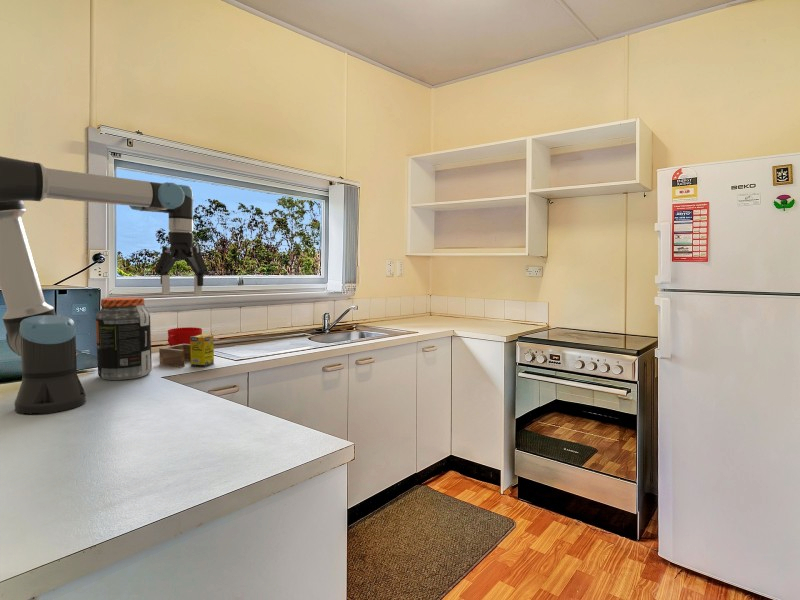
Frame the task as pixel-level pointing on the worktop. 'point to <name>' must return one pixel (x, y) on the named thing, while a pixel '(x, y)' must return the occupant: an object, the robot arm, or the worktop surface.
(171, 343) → the red ribbed container
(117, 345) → the supplement tub
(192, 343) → the supplement box
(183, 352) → the brown rectangular block
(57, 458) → the worktop surface
